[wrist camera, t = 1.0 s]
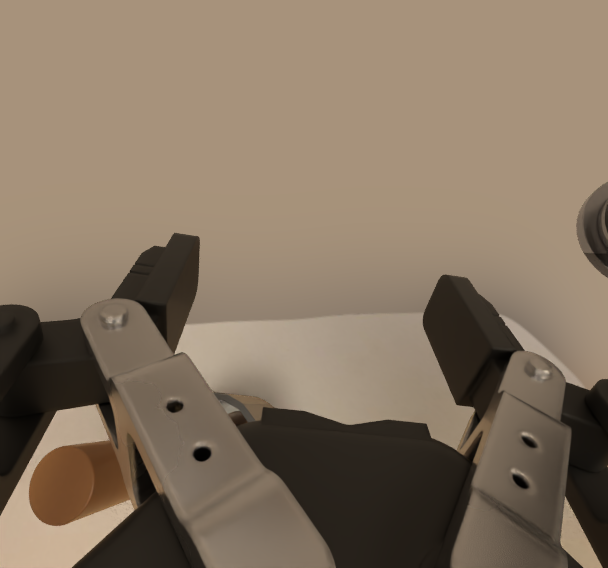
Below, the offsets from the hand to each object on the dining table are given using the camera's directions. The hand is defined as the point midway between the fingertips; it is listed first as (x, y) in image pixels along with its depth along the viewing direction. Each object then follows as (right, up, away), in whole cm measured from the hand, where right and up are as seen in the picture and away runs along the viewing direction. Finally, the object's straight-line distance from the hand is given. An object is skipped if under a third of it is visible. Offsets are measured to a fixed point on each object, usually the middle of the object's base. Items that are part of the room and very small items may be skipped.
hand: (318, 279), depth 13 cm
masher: (-6, -14, +22) cm, 27 cm away
